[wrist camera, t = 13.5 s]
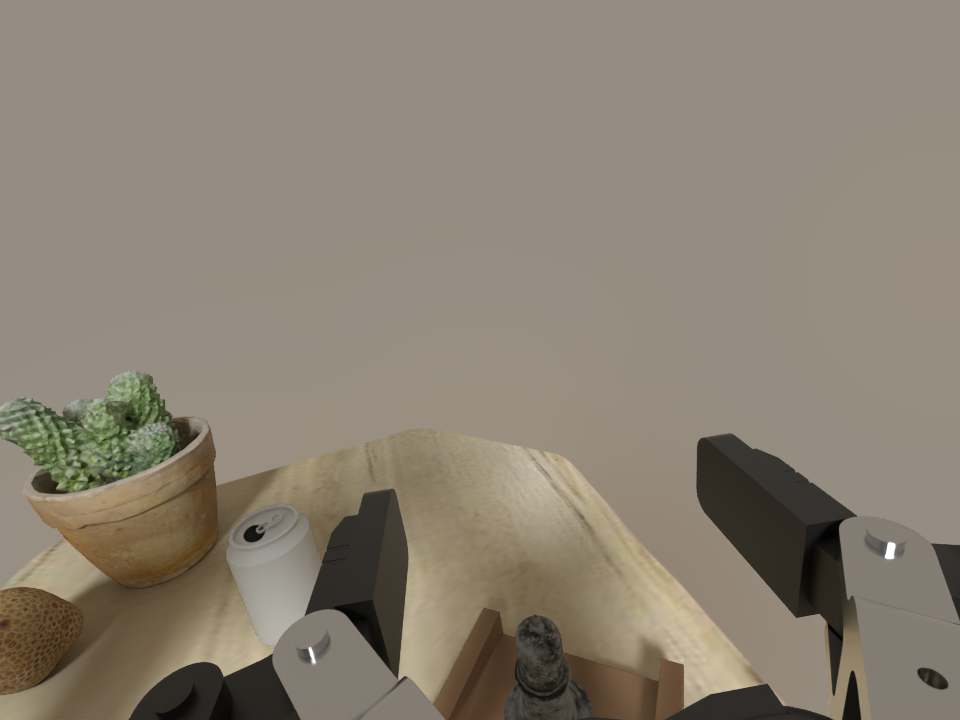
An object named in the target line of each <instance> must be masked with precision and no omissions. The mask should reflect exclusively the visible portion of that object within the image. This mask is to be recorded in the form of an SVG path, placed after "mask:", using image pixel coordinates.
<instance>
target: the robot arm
mask: <svg viewBox="0 0 960 720" xmlns="http://www.w3.org/2000/svg"><path fill="white" fill-rule="evenodd" d="M697 496H698V499H699V502H700V505H701V507H702V509H703V511H704V512H705V513H706V515H707V516H708V517H709V518H710V519H711V520H712V521H713V523H714V524H715V525H716V526H717V527H718V528H719V530H720V531H721V532H722V533H723V534H724V535H725V536H726V538H727V539H728V540H729V541H730V542H731V543H732V544H733V545H734V547H735V548H736V549H737V550H738V551H739V553H740V554H741V555H742V556H743V557H744V558H745V559H746V560H747V562H748V563H749V564H750V565H751V566H752V567H753V568H754V570H755V571H756V572H757V573H758V574H759V575H760V577H761V578H762V579H763V580H764V581H765V582H766V584H767V585H768V586H769V587H770V588H771V589H772V590H773V592H774V593H775V594H776V595H777V596H778V597H779V598H780V600H781V601H782V602H783V603H784V604H785V605H786V606H787V608H788V609H789V610H790V611H791V612H792V613H793V615H794V616H795V617H796V618H798V617H803V616H809V615H815V614H820V615H821V616H822V617H823V618H824V619H825V620H826V625H825V634H824V635H825V652H826V668H827V684H828V698H829V717H826V716H824V715H821V714H818V713H814V712H811V711H808V710H804V709H799V708H794V707H790V706H783V705H782V704H781V702H780V701H779V699H778V698H777V697H776V695H775V694H774V692H773V691H772V689H771V688H770V686H769V685H768V684H764V685H758V686H753V687H747V688H742V689H737V690H731V691H726V692H721V693H715V694H710V695H709V696H707V697H705V698H703V699H701V700H699V701H698V702H696V703H694V704H692V705H690V706H688V707H687V708H685V709H683V710H681V711H679V712H678V713H676V714H674V715H672V716H670V717H668V718H667V719H665V720H960V545H947V544H931V543H929V541H927V540H926V539H925V538H924V537H923V536H921V535H920V534H919V533H917V532H915V531H914V530H912V529H910V528H908V527H906V526H904V525H901V524H899V523H896V522H893V521H890V520H886V519H881V518H876V517H868V516H867V517H866V516H859V517H858V516H857V515H855V514H854V513H852V512H851V511H850V510H848V509H847V508H846V507H844V506H843V505H841V504H840V503H839V502H838V501H836V500H835V499H834V498H832V497H831V496H829V495H828V494H827V493H825V492H824V491H823V490H821V489H820V488H819V487H817V486H816V485H815V484H813V483H809V481H808V479H806V478H805V477H803V476H802V475H801V474H800V473H798V472H797V473H796V472H795V470H794V469H793V468H791V467H790V466H789V465H787V464H786V463H785V462H783V461H782V460H781V459H779V458H777V457H775V456H773V455H770V454H768V453H765V452H763V451H761V450H758V449H752V448H750V447H749V446H748V445H746V444H745V443H744V442H743V441H741V440H740V439H738V438H737V437H736V436H734V435H733V434H723V435H717V436H711V437H705V438H701V439H700V440H699V441H698V445H697ZM322 563H323V565H321V567H320V570H319V573H318V576H317V579H316V582H315V585H314V588H313V591H312V594H311V597H310V600H309V603H308V606H307V609H306V612H305V615H304V617H302V618H301V619H299V620H298V621H296V622H295V623H294V624H292V625H291V626H290V627H289V628H288V629H287V630H286V631H285V632H284V633H283V634H282V636H281V637H280V639H279V640H278V642H277V644H276V646H275V649H274V652H273V654H271V655H270V656H268V657H266V658H264V659H262V660H260V661H258V662H256V663H254V664H252V665H250V666H247V667H245V668H243V669H241V670H239V671H236V672H234V673H232V674H230V675H228V676H225V677H224V676H223V674H222V672H221V670H220V668H219V667H218V666H217V665H215V664H213V663H209V662H200V663H194V664H191V665H188V666H185V667H183V668H181V669H179V670H177V671H175V672H173V673H171V674H170V675H168V676H167V677H165V678H164V679H163V680H161V681H160V682H159V683H157V684H156V685H155V686H154V687H153V688H152V689H151V690H150V691H149V692H148V693H147V694H146V695H145V696H144V697H143V699H142V700H141V701H140V702H139V704H138V705H137V707H136V708H135V710H134V711H133V713H132V715H131V717H130V718H129V720H445V719H444V717H443V716H442V715H441V714H440V713H439V711H438V710H437V709H436V708H435V707H434V705H433V704H432V703H431V702H430V701H429V699H428V698H427V697H426V696H425V695H424V693H423V692H422V691H421V690H420V689H419V687H418V686H417V685H416V684H415V683H414V682H413V681H412V680H411V679H410V678H408V677H406V676H404V677H403V678H402V679H401V680H400V681H399V680H398V673H399V661H400V650H401V639H402V628H403V616H404V605H405V594H406V583H407V571H408V546H407V539H406V535H405V530H404V526H403V522H402V517H401V513H400V509H399V504H398V500H397V496H396V492H395V490H394V489H387V490H381V491H375V492H369V493H365V494H364V495H363V498H362V502H361V506H360V510H359V513H358V515H353V516H347V517H345V518H344V519H343V520H342V521H341V522H340V524H339V525H338V526H337V527H336V528H335V529H334V531H333V532H332V534H331V537H330V540H329V543H328V546H327V552H325V555H324V558H323V561H322ZM576 720H620V719H609V718H598V717H587V718H581V719H576Z"/></svg>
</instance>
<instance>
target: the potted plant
mask: <svg viewBox="0 0 960 720" xmlns="http://www.w3.org/2000/svg"><path fill="white" fill-rule="evenodd" d="M156 389H157V387H156V386H155V384H153V378H152V377H151V376H150V374H146V372H143V373H141V372H138V371H128V372H125V373H121V374H118V375H117V376H115V377H114V378H113V379H112V381H111V382H110V386H109V389H106V390H107V391H108V392H109V395H108V396H107V398H108V400H109V401H108V400H107V399H106V398H98V399H96V400H93V401H92V399H78V400H77V401H74V402H72V403H70V404H69V405H68V406H66V407H65V408H64V411H63V412H62V413H63V415H64V417H61V416H58V415H57V414H56V412H55V411H51V408H46V407H45V406H42V404H41V403H40V402H34V401H33V398H30V399H26V398H25V397H21V398H16V399H12V400H9V401H8V402H6V403H5V404H3V405H2V406H0V435H1V437H2V439H5V440H7V441H10V442H12V443H15V444H17V445H18V446H20V447H22V448H24V449H25V450H24V451H23V452H24V453H26V454H27V455H29V456H30V457H32V458H33V459H34V460H35V463H34V465H41V466H42V467H40V468H39V469H38V470H36V471H35V472H34V473H33V474H31V475H30V476H29V477H28V480H27V481H26V483H25V485H24V487H23V495H24V496H25V497H26V498H27V499H28V501H29V502H30V504H31V505H32V506H33V508H34V510H35V511H36V512H37V514H38V515H39V516H40V518H41V519H42V520H43V522H44V523H46V524H47V525H49V526H51V527H52V528H57V529H58V530H59V532H60V533H61V534H62V535H63V536H64V538H65V539H66V540H67V541H68V542H69V543H70V544H71V545H72V546H73V547H74V548H75V549H76V550H78V551H79V552H80V553H81V554H82V555H83V556H84V557H85V558H86V559H88V560H89V561H90V562H91V563H92V564H93V565H95V566H96V567H97V568H98V569H100V570H101V571H102V572H103V573H104V574H106V575H107V576H109V577H110V578H112V579H113V580H115V581H116V582H118V583H120V584H122V585H123V586H125V587H127V588H145V587H148V586H152V585H156V584H159V583H162V582H165V581H168V580H170V579H173V578H175V577H177V576H178V575H180V574H182V573H184V572H185V571H187V570H188V569H189V568H191V567H192V566H193V565H194V564H196V563H197V562H198V561H200V560H201V559H202V558H203V557H204V556H205V555H206V554H207V552H208V551H209V550H210V549H211V548H212V547H213V545H214V543H215V541H216V539H217V536H218V529H217V499H216V481H215V472H214V464H213V463H214V460H215V457H216V455H215V454H216V451H215V448H214V443H213V438H212V433H211V429H210V427H209V425H208V422H207V421H206V420H204V419H201V418H196V417H179V418H172V417H173V416H172V415H171V414H170V413H169V412H168V411H165V400H162V399H160V394H157V392H156ZM171 418H172V419H171Z"/></svg>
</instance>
